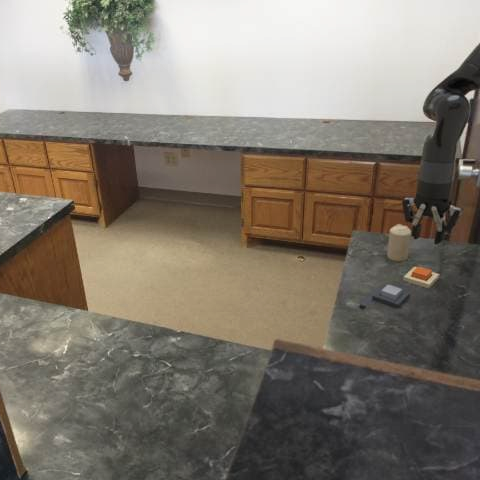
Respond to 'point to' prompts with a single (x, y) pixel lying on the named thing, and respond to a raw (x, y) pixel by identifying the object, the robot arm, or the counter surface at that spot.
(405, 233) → the candle
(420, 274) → the key
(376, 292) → the keypad
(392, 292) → the key
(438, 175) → the robot arm
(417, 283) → the keypad
